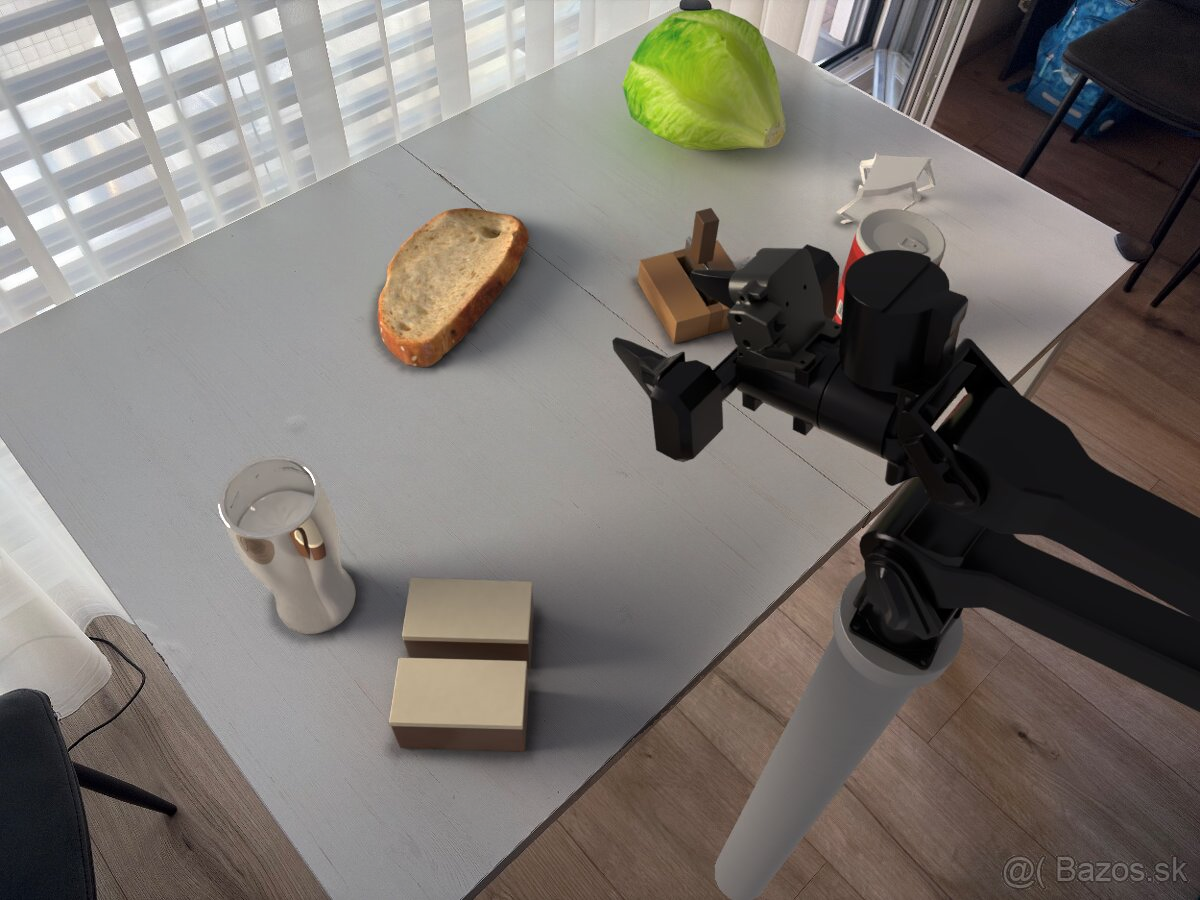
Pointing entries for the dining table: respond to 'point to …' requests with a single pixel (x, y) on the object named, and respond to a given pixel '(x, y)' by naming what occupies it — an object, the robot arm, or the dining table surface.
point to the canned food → (892, 240)
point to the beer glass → (289, 540)
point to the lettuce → (706, 83)
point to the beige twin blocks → (464, 665)
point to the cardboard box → (682, 295)
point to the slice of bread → (447, 281)
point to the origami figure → (891, 178)
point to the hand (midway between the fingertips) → (654, 308)
